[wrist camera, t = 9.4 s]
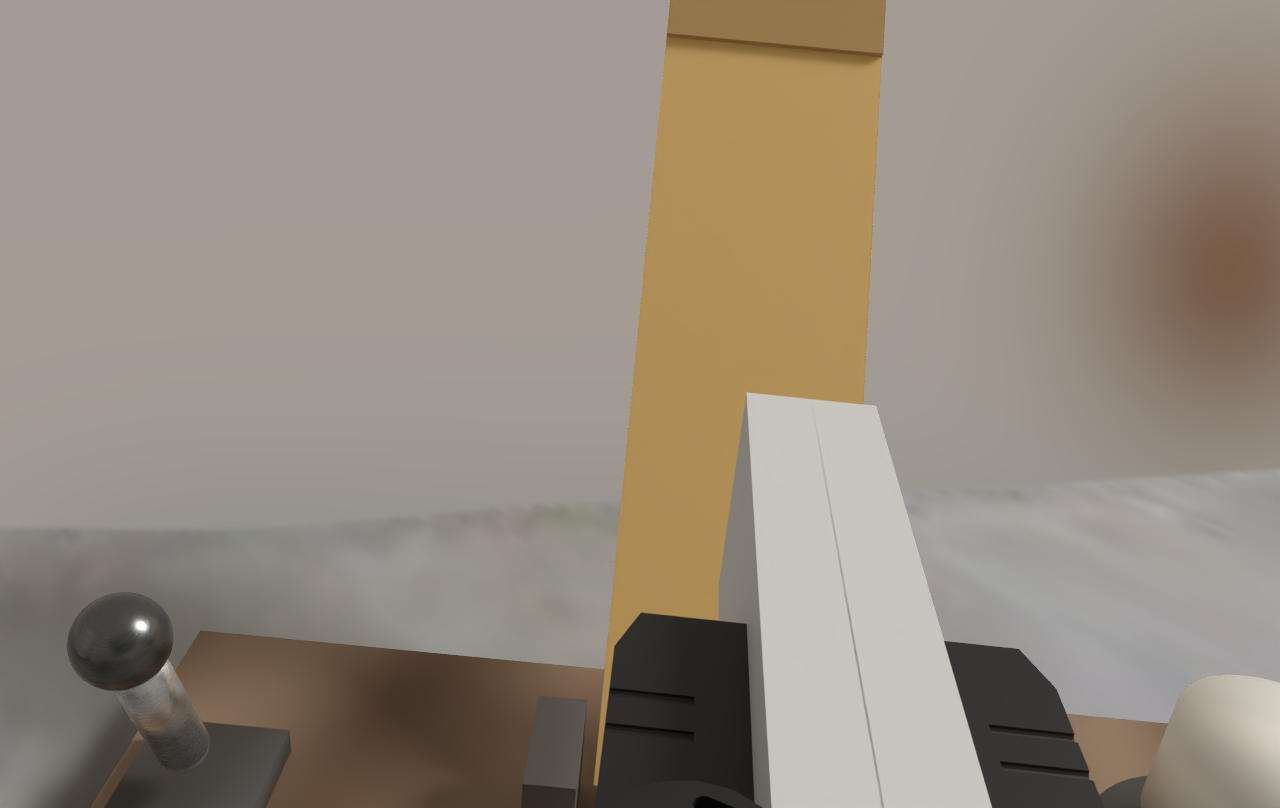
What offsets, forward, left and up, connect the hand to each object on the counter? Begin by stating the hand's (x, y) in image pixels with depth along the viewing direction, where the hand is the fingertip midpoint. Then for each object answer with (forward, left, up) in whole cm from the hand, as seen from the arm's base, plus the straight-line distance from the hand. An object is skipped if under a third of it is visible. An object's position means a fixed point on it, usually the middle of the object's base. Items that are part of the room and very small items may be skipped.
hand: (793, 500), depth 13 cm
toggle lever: (+10, -5, -11) cm, 16 cm away
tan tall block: (0, -5, -11) cm, 12 cm away
